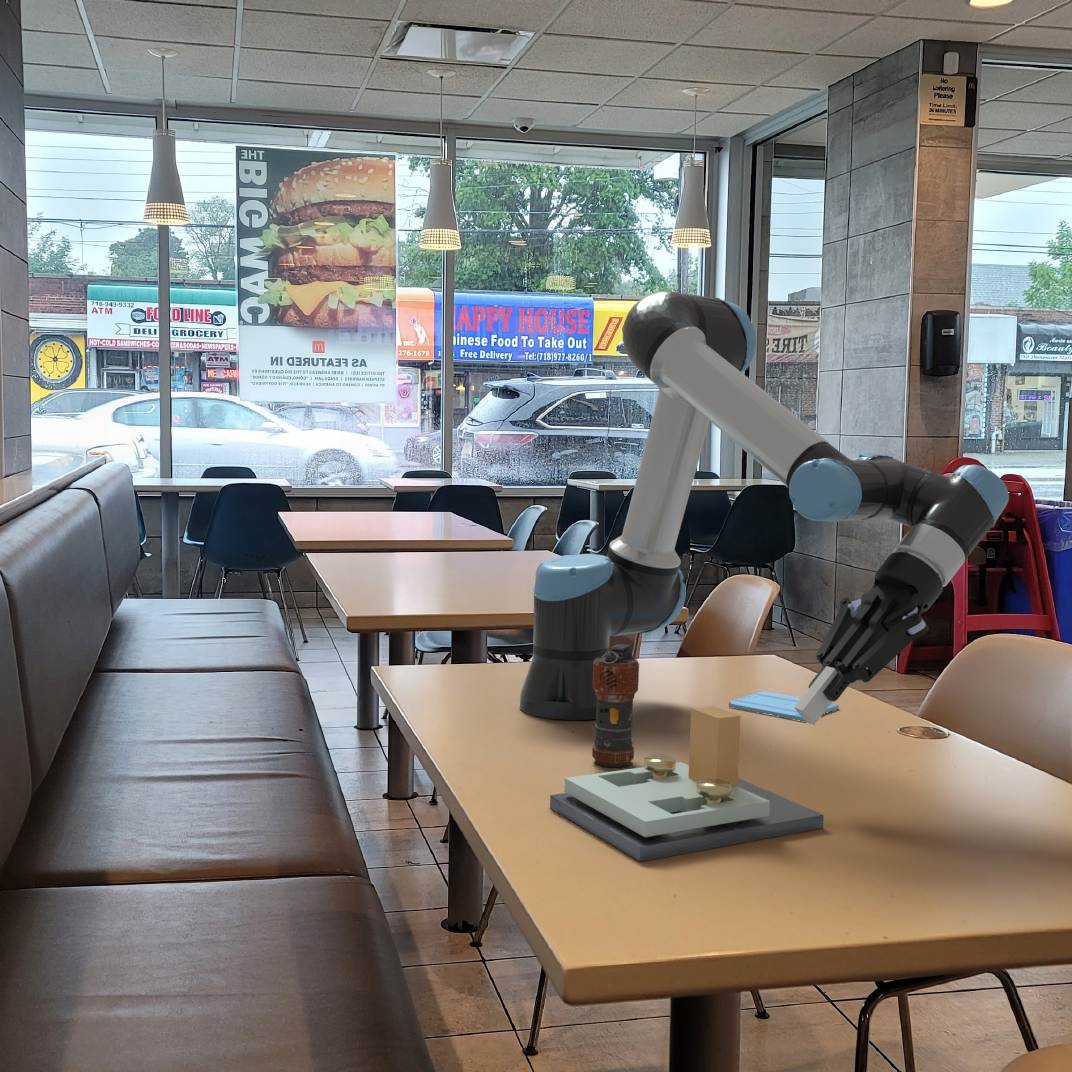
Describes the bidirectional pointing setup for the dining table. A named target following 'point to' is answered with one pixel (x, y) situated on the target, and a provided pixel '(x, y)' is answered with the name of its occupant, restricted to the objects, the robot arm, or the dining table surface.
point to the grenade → (614, 706)
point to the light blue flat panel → (772, 704)
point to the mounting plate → (779, 822)
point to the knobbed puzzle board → (677, 784)
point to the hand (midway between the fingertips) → (804, 716)
